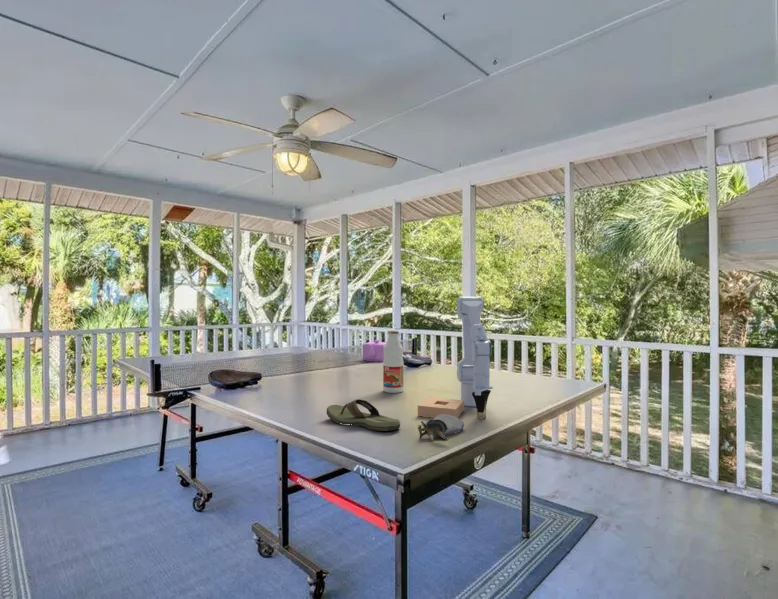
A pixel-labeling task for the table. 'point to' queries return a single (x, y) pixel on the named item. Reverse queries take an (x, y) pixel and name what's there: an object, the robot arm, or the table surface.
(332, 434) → the table surface
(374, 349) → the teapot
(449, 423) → the stone block
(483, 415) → the peg
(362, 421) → the flip flop
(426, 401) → the socket
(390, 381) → the fruit juice
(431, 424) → the eagle figurine
